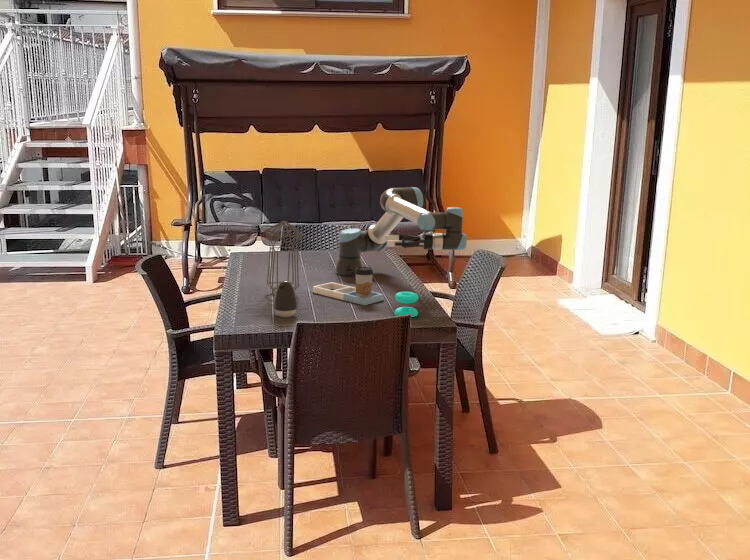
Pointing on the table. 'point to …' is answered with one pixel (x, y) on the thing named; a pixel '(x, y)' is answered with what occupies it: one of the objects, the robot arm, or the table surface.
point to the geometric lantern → (283, 251)
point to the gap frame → (346, 293)
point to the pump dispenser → (285, 300)
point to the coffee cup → (363, 281)
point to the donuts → (406, 298)
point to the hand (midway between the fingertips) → (385, 240)
